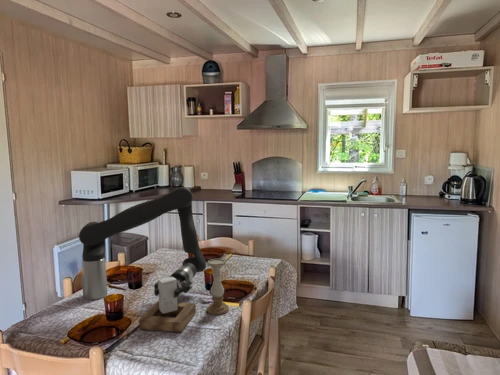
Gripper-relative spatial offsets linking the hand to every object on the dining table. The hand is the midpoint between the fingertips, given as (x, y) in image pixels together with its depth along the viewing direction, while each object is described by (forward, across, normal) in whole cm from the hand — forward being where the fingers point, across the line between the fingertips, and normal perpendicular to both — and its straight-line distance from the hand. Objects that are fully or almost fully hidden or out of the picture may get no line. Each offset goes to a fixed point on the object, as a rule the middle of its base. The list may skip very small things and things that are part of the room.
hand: (165, 293), depth 137 cm
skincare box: (-2, 0, +8) cm, 8 cm away
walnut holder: (-2, 0, +12) cm, 12 cm away
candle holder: (-14, +16, +12) cm, 24 cm away
